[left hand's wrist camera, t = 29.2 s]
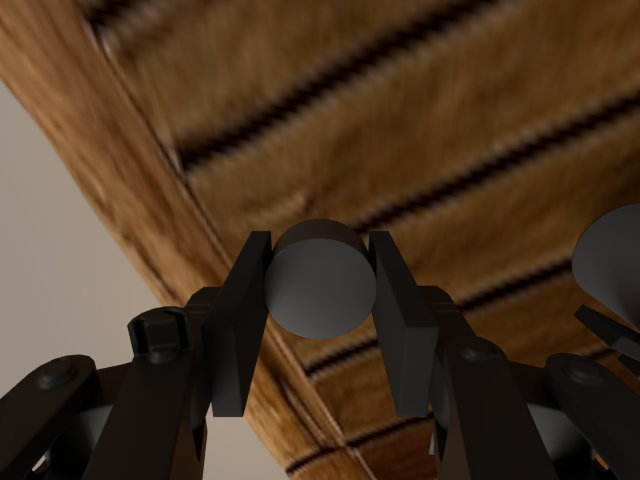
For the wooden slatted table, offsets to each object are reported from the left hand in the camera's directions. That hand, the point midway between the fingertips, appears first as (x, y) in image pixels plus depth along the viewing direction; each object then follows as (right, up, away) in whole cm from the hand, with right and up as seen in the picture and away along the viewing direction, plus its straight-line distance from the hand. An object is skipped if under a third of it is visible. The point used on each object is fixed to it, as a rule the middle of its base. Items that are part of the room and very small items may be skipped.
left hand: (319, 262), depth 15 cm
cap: (0, -1, -2) cm, 2 cm away
